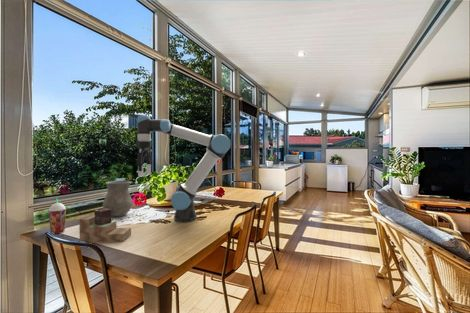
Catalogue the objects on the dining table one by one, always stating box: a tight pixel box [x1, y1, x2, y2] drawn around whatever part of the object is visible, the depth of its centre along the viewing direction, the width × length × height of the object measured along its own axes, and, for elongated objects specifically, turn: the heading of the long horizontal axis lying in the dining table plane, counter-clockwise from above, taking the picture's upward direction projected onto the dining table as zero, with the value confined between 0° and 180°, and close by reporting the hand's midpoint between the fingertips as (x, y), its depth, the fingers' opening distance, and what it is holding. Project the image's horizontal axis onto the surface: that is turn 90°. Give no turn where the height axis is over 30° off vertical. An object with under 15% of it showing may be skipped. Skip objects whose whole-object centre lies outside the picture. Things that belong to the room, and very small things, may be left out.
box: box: [93, 207, 113, 225], centre depth 126 cm, size 6×6×7 cm
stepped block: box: [78, 213, 132, 243], centre depth 126 cm, size 22×10×12 cm, turn 92°
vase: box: [102, 180, 134, 218], centre depth 172 cm, size 20×19×25 cm
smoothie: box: [48, 197, 67, 234], centre depth 137 cm, size 8×8×20 cm
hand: (144, 175), depth 146 cm, fingers open, 13 cm apart
